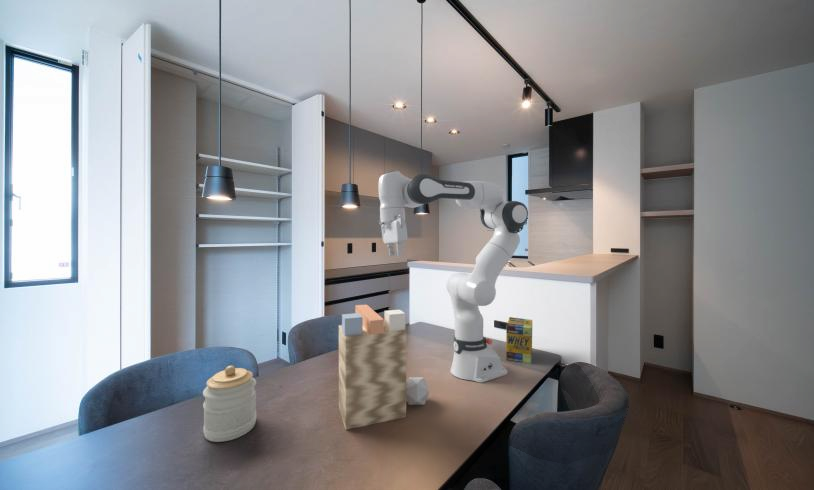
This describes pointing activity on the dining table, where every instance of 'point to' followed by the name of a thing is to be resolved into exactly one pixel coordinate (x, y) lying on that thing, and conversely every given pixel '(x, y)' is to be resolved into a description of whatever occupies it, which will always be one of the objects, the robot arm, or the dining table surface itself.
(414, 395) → the die
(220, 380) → the jar
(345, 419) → the oak stand
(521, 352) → the protein box
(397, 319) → the cube cream
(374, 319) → the bar terracotta
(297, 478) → the dining table surface
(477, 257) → the robot arm
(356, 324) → the cube slate
